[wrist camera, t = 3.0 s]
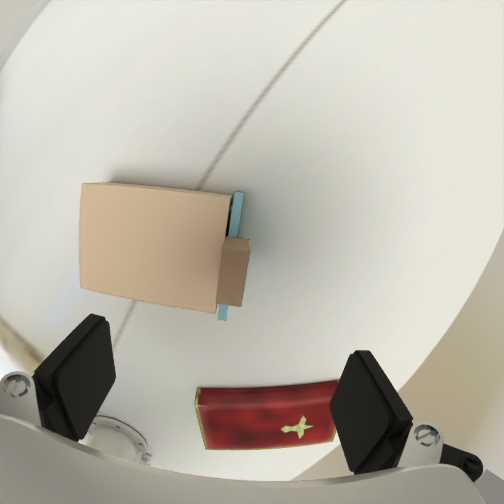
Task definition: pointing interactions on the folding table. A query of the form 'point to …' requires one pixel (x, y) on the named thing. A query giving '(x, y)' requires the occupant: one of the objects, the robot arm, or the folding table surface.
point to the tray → (232, 261)
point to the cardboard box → (152, 243)
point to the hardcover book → (265, 416)
